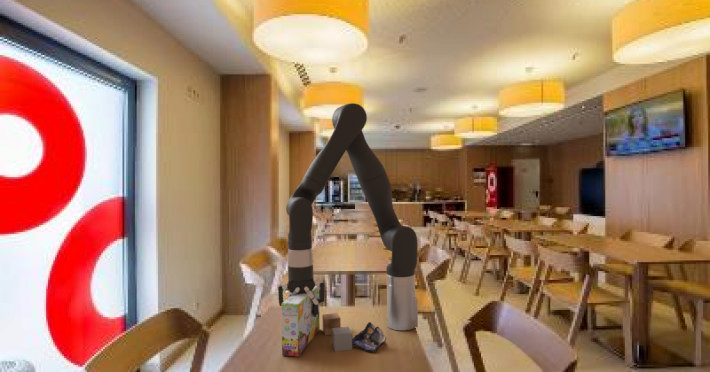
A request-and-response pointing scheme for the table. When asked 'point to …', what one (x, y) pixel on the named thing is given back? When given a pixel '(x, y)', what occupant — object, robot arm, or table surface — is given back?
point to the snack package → (369, 338)
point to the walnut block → (330, 322)
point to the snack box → (298, 323)
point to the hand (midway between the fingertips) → (302, 317)
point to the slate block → (342, 338)
